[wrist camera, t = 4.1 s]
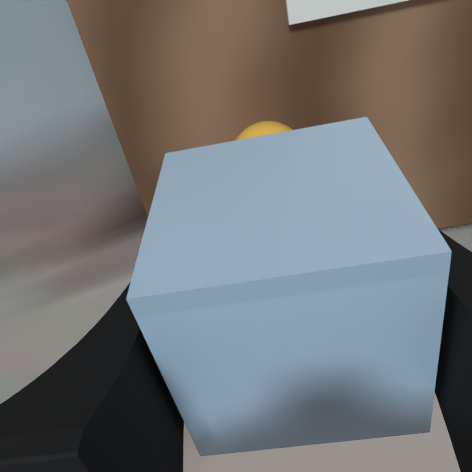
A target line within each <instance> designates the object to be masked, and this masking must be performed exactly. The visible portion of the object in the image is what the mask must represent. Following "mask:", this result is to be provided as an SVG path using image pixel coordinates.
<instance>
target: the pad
mask: <svg viewBox="0 0 472 472" xmlns="http://www.w3.org/2000/svg"><path fill="white" fill-rule="evenodd" d="M403 1H408V0H286V9H287V18H288V24H289V25H292V24H297V23H302V22H306V21H311V20H316V19H321V18H326V17H331V16H335V15H340V14H345V13H350V12H355V11H359V10H364V9H369V8H374V7H379V6H384V5H388V4H393V3H398V2H403Z"/></svg>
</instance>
